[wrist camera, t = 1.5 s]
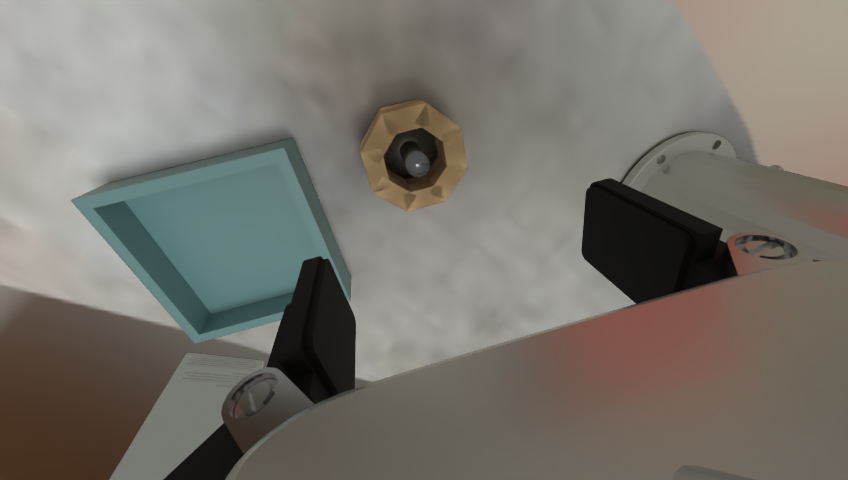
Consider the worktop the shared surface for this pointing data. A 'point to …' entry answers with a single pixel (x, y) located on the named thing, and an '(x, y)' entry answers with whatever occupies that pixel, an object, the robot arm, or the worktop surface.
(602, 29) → the worktop surface
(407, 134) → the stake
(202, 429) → the supplement box
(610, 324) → the robot arm
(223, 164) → the tray
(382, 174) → the ring
